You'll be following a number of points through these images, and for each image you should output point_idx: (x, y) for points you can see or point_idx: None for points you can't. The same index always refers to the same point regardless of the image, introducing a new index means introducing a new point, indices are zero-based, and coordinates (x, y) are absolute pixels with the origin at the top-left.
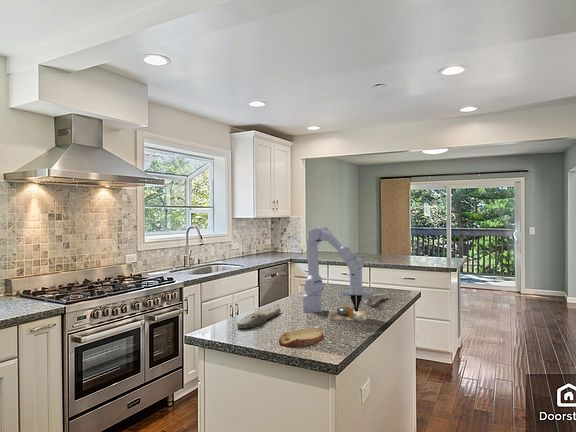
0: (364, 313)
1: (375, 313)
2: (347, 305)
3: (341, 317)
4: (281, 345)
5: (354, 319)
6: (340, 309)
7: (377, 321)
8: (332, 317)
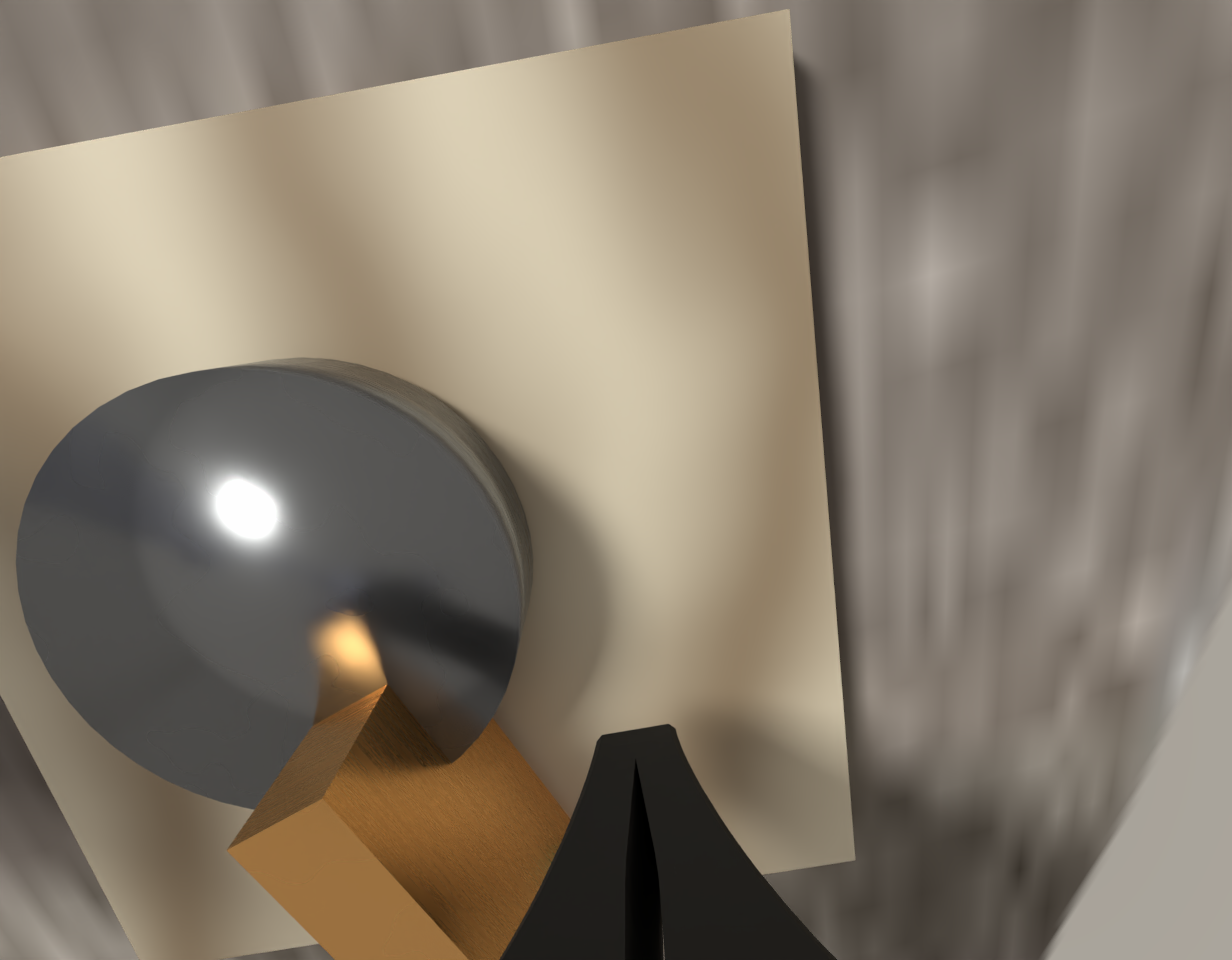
0: (785, 360)
1: (1046, 38)
2: (342, 891)
3: None
4: None
5: None
6: (170, 699)
7: (1035, 723)
8: (187, 868)
